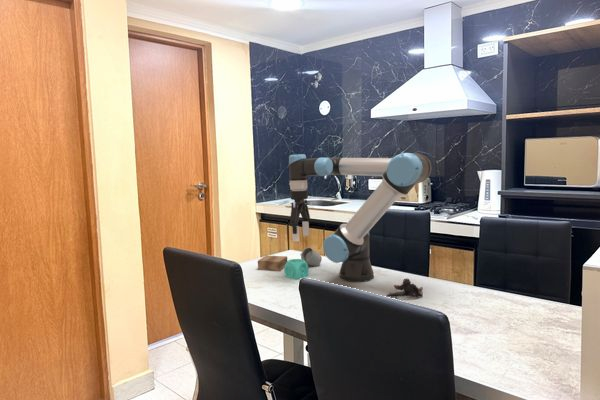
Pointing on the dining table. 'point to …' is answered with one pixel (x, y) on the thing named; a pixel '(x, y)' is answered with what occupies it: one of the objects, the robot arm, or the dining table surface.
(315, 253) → the ceramic mug
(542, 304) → the dining table surface
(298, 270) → the decorative dice
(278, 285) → the dining table surface
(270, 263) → the base block
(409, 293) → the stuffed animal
